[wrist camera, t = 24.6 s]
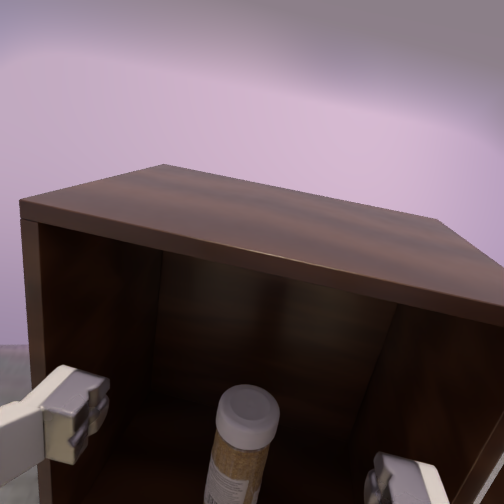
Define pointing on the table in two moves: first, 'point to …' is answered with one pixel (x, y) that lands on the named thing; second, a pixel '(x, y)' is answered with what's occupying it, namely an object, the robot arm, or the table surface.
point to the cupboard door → (495, 490)
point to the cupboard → (261, 335)
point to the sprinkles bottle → (241, 445)
